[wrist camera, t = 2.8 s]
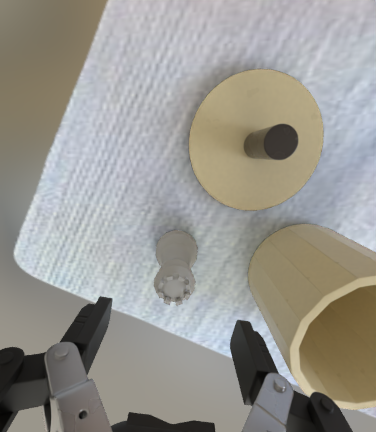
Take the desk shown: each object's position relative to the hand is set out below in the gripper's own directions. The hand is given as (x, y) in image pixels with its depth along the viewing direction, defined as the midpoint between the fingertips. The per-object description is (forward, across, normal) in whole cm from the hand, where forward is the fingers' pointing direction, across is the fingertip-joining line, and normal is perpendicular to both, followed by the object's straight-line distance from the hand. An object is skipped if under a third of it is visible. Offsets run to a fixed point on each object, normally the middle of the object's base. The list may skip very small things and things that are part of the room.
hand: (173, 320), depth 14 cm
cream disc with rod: (+10, -5, -12) cm, 17 cm away
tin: (+11, -14, 0) cm, 18 cm away
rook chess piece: (+11, 0, 0) cm, 11 cm away
